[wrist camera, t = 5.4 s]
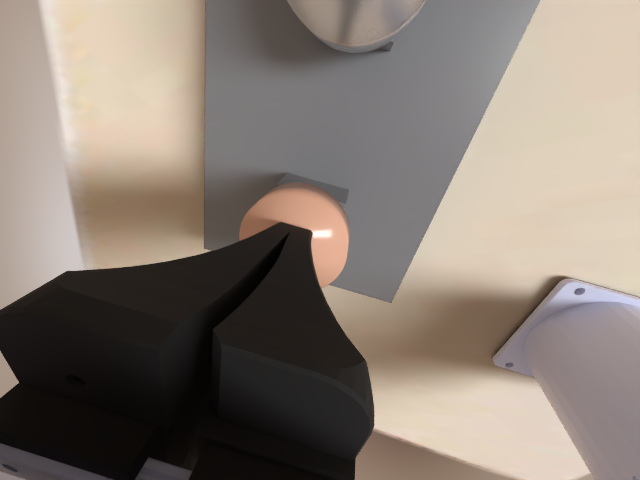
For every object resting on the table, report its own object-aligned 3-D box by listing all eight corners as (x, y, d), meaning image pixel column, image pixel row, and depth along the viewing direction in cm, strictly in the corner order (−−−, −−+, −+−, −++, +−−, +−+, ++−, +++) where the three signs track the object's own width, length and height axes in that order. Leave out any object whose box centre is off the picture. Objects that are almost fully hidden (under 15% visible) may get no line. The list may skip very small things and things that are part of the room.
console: (577, -124, 9) (708, -262, 5) (389, 282, 18) (393, 327, 14) (237, -203, 9) (159, -379, 6) (219, 233, 18) (184, 266, 15)
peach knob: (364, 173, 14) (362, 213, 9) (343, 242, 16) (331, 303, 12) (286, 152, 14) (243, 180, 10) (275, 222, 17) (235, 275, 12)
